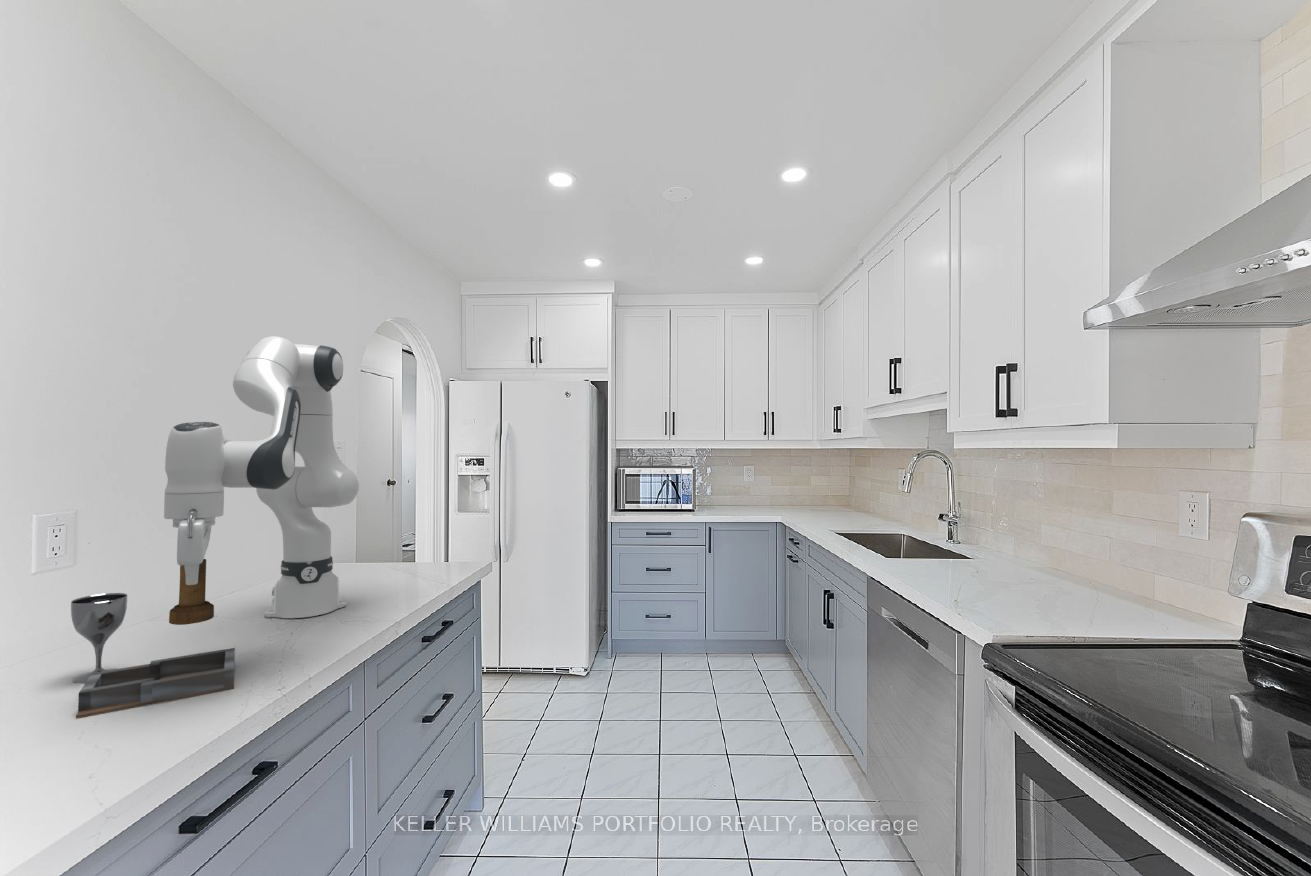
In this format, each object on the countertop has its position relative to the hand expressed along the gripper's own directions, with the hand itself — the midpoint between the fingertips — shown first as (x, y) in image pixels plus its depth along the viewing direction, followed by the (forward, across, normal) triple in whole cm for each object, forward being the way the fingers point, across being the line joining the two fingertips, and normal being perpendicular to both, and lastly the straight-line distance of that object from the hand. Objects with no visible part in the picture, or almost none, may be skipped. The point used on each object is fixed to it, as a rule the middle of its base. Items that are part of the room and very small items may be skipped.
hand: (193, 581), depth 110 cm
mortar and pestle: (+7, 0, 0) cm, 7 cm away
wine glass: (+19, +15, +15) cm, 29 cm away
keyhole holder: (+19, 0, +4) cm, 20 cm away
